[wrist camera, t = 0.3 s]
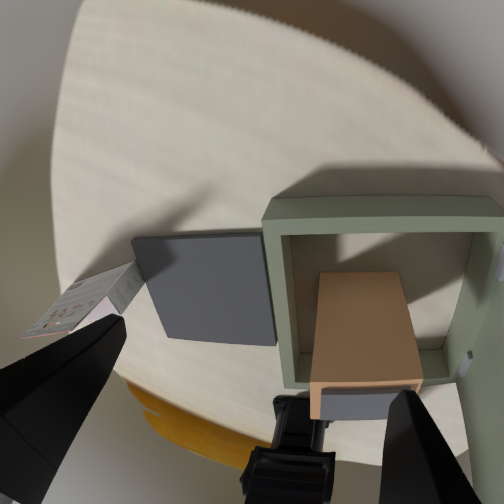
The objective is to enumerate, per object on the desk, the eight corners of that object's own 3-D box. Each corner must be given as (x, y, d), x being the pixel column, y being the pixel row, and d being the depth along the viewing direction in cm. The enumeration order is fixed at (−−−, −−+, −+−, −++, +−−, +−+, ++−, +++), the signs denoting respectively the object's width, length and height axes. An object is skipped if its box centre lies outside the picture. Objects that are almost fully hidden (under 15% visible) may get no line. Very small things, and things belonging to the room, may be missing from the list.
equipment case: (458, 353, 24) (487, 519, 9) (289, 359, 28) (249, 536, 14) (502, 197, 16) (646, 387, 2) (271, 198, 21) (152, 461, 6)
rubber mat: (276, 341, 28) (275, 346, 27) (170, 333, 30) (167, 337, 30) (261, 232, 22) (259, 236, 22) (134, 238, 25) (130, 241, 25)
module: (391, 311, 23) (407, 422, 15) (320, 312, 25) (309, 424, 16) (397, 271, 21) (424, 384, 13) (319, 272, 23) (309, 387, 14)
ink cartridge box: (149, 279, 27) (92, 356, 19) (84, 298, 31) (34, 357, 23) (135, 257, 26) (71, 330, 18) (72, 281, 30) (19, 338, 22)
